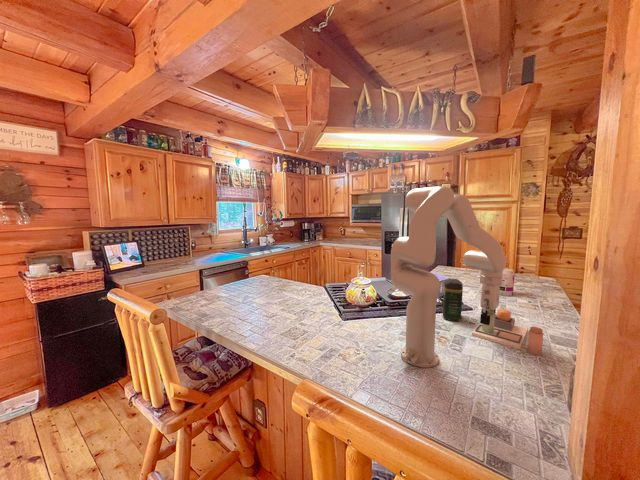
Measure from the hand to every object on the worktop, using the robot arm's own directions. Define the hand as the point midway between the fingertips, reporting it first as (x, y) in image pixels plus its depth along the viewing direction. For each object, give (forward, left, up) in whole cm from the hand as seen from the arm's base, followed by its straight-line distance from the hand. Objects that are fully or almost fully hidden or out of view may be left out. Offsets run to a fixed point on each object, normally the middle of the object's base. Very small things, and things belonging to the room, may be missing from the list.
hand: (487, 320), depth 108 cm
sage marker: (0, 0, -5) cm, 5 cm away
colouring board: (+5, -4, -6) cm, 8 cm away
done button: (+10, -4, -2) cm, 11 cm away
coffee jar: (+8, +16, -6) cm, 19 cm away
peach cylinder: (-4, -16, -6) cm, 17 cm away
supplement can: (+63, +4, -6) cm, 63 cm away
